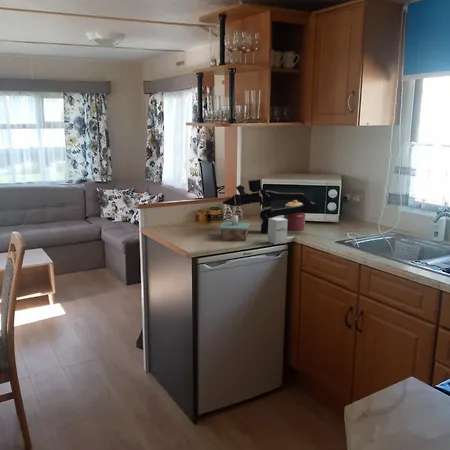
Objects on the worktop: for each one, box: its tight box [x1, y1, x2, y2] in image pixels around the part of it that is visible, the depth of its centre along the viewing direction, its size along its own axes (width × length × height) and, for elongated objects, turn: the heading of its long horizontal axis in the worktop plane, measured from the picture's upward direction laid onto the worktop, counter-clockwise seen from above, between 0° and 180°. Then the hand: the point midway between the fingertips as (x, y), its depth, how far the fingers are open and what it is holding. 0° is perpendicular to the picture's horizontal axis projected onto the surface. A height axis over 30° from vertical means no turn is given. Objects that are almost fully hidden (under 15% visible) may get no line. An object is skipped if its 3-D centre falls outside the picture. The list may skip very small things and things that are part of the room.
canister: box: [283, 200, 306, 232], centre depth 280 cm, size 13×13×18 cm
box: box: [220, 229, 249, 242], centre depth 256 cm, size 13×13×6 cm
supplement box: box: [267, 216, 288, 245], centre depth 247 cm, size 7×7×13 cm
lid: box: [218, 214, 251, 231], centre depth 255 cm, size 15×15×6 cm
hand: (223, 202), depth 268 cm, fingers open, 9 cm apart
